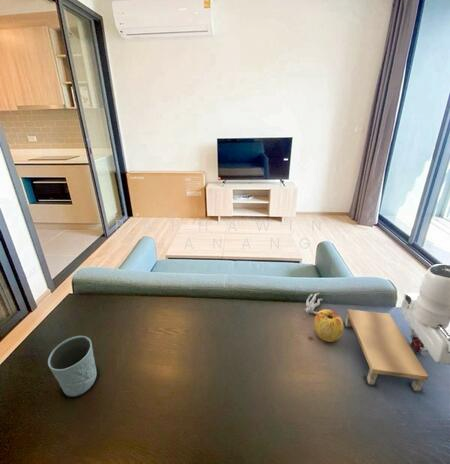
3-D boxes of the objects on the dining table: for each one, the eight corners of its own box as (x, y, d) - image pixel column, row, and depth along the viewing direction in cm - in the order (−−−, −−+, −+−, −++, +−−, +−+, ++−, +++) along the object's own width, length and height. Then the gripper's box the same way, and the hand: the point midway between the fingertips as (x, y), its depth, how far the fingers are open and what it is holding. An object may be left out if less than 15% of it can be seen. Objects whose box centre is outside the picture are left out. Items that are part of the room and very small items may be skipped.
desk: (384, 327, 88) (389, 313, 86) (421, 392, 68) (428, 376, 65) (344, 322, 90) (347, 309, 88) (368, 384, 70) (373, 369, 67)
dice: (427, 356, 78) (431, 347, 76) (411, 353, 78) (415, 344, 77) (421, 345, 81) (424, 337, 80) (406, 343, 82) (409, 334, 80)
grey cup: (106, 370, 73) (99, 340, 69) (78, 406, 64) (68, 375, 60) (80, 360, 76) (71, 331, 72) (49, 393, 67) (38, 363, 63)
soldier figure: (327, 306, 99) (322, 318, 88) (316, 310, 101) (310, 322, 90) (316, 288, 101) (310, 297, 91) (306, 292, 103) (299, 302, 93)
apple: (341, 331, 86) (346, 309, 83) (339, 352, 79) (344, 329, 75) (314, 322, 90) (318, 300, 87) (310, 341, 83) (314, 318, 79)
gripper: (469, 344, 64) (451, 380, 69) (422, 291, 83) (411, 322, 88) (442, 341, 65) (427, 376, 70) (402, 289, 84) (392, 320, 89)
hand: (418, 346), depth 79 cm, fingers closed on dice, 4 cm apart
